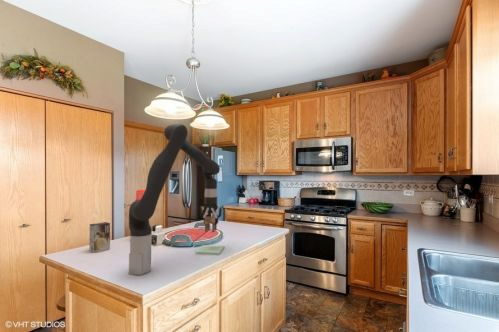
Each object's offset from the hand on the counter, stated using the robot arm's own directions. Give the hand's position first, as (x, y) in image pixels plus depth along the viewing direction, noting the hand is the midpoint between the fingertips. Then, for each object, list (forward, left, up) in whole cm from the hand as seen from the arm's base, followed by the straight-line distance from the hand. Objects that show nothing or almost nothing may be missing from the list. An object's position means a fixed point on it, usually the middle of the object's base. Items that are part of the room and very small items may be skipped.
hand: (210, 224), depth 150 cm
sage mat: (0, 0, -16) cm, 16 cm away
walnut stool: (0, 0, -4) cm, 4 cm away
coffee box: (-8, +66, -16) cm, 68 cm away
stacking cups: (+17, +54, -16) cm, 59 cm away
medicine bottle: (+10, +39, -16) cm, 43 cm away
